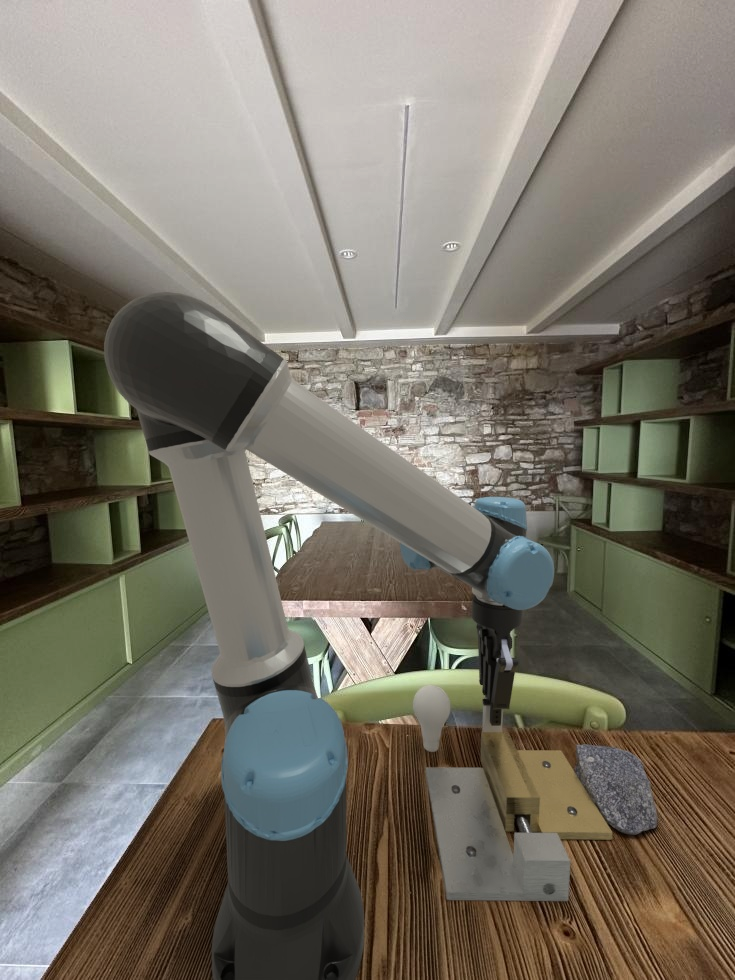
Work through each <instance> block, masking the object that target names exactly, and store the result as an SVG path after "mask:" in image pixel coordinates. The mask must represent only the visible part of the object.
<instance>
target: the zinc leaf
mask: <svg viewBox="0 0 735 980" xmlns="http://www.w3.org/2000/svg"><path fill="white" fill-rule="evenodd" d="M425 778H426V779H425V780H426V783H427V784H426V785H427V788H428V796H429V801H430V806H431V808H430V809H431V814H432V820H433V825H434V831H435V837H436V843H437V849H438V855H439V862H440V867H441V872H442V880H443V885H444V890H445V897H446V901H492V902H493V901H495V902H496V901H500V902H503V901H504V902H505V901H506V902H508V901H509V902H511V901H513V902H514V901H515V902H517V901H519V902H520V901H521V902H569V896H570V894H569V893H570V891H569V890H570V875H571V873H570V872H571V859H570V856H569V855H568V853H567V851H566V848H565V846H564V844H563V842H562V839H560V838H559V836H558V834H557V833H539V832H532V830H531V828H530V825H529V823H528V820H527V818H526V816H525V814H515V815H514V820H515V821H516V824H517V827H518V830H519V832H513V833H514V834H513V836H514V837H513V851H512V848H511V845H510V842H509V839H508V836H507V833H506V832H505V829H504V826H503V823H502V820H501V818H500V815H499V812H498V809H497V806H496V803H495V800H494V798H493V795H492V792H491V789H490V786H489V783H488V780H487V778H486V775H485V772H484V769H483V767H445V766H444V767H440V766H439V767H437V766H436V767H433V766H432V767H431V766H429V767H428V766H426V767H425Z"/></svg>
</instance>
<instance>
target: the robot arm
mask: <svg viewBox="0 0 735 980" xmlns="http://www.w3.org/2000/svg"><path fill="white" fill-rule="evenodd" d="M104 337H105V338H104V343H103V347H104V348H103V350H104V354H103V355H104V362H105V366H106V370H107V372H108V375H109V377H110V380H111V381H112V384H113V386H114V388H115V389H116V390H117V392H118V393H119V394H120V395H121V396H122V398H123V399H125V401H126V402H127V403H128V404H129V405H130V406H132V407H133V408H134V409H136V412H137V413H136V414H137V415H138V419H139V423H140V426H141V430H142V433H143V437H144V441H145V444H146V447H147V450H148V455H150V456H151V457H153V458H155V459H157V460H158V461H160V462H161V463H163V464H164V465H165V466H167V467H168V471H169V473H170V476H171V477H170V478H171V480H172V483H173V487H174V492H175V495H176V498H177V502H178V505H179V510H180V513H181V516H182V521H183V524H184V527H185V531H186V535H187V538H188V542H189V546H190V549H191V553H192V557H193V559H194V560H193V561H194V563H195V568H196V571H197V574H198V579H199V582H200V585H201V589H202V592H203V596H204V600H205V604H206V607H207V611H208V615H209V618H210V622H211V625H212V628H213V631H214V632H213V633H214V636H215V640H216V644H217V647H218V651H219V654H218V656H217V657H216V659H215V661H214V662H213V664H212V667H211V676H212V677H211V678H212V680H213V684H214V688H215V691H216V696H217V698H218V702H219V706H220V709H221V714H222V716H223V717H222V718H223V721H224V733H225V734H224V739H225V741H224V748H223V755H221V756H222V757H221V764H220V766H221V767H220V769H221V770H220V775H221V777H220V778H221V786H222V791H223V795H224V797H223V798H224V813H225V814H224V817H225V819H224V820H225V837H226V838H225V839H226V840H225V841H226V842H225V843H226V860H227V861H226V862H227V867H226V868H227V885H226V888H225V891H224V894H223V897H222V900H221V904H220V906H219V910H218V913H217V917H216V920H215V925H214V928H213V933H212V934H213V935H212V940H211V941H212V943H211V970H212V971H211V972H212V973H211V974H212V980H356V978H357V975H358V973H359V969H360V966H361V962H362V958H363V952H364V947H365V946H364V945H365V911H364V902H363V898H362V894H361V889H360V886H359V884H358V882H357V881H358V880H357V879H356V876H355V874H354V871H353V868H352V865H351V863H350V861H349V859H348V856H347V776H348V775H347V772H348V767H349V759H348V748H347V742H346V738H345V736H346V735H345V732H344V731H345V730H344V726H343V724H342V721H341V719H340V717H339V715H338V713H337V712H336V710H335V708H333V706H331V704H330V703H329V702H328V701H326V700H325V699H323V698H321V697H319V696H318V694H317V690H316V688H315V683H314V681H313V680H314V679H313V676H312V672H311V667H310V663H309V659H308V656H307V651H306V648H305V647H306V646H305V643H304V639H303V637H302V635H301V634H299V633H298V632H296V631H294V630H292V629H289V626H288V623H287V619H286V615H285V614H286V613H285V609H284V605H283V602H282V598H281V594H280V590H279V586H278V582H277V578H276V573H275V570H274V566H273V565H274V564H273V561H272V557H271V553H270V548H269V544H268V539H267V535H266V532H265V527H264V525H263V520H262V519H263V518H262V515H261V511H260V507H259V506H260V505H259V502H258V500H257V496H256V495H257V494H256V491H255V486H254V483H253V482H254V481H253V477H252V474H251V470H250V466H249V461H248V457H247V453H246V451H248V452H250V453H252V454H253V455H254V456H256V457H257V458H260V459H261V460H263V461H264V462H266V463H268V464H269V465H271V466H273V467H274V468H276V469H278V470H279V471H281V472H283V473H284V474H286V475H287V476H289V477H291V478H293V479H294V480H296V481H298V482H299V483H300V484H303V485H304V486H306V487H308V488H309V489H311V490H313V491H314V492H315V493H316V494H319V495H321V496H323V498H326V499H327V500H329V501H331V502H332V503H333V504H335V505H337V506H338V507H340V508H341V509H344V510H346V511H348V513H350V514H352V515H353V516H355V517H357V518H358V519H361V520H362V521H364V522H365V523H367V524H368V525H370V526H372V527H373V528H375V529H377V530H378V531H380V532H382V533H383V534H385V535H387V536H389V537H390V538H392V539H394V540H395V541H396V542H399V548H400V549H399V550H400V553H401V557H402V559H403V562H404V563H405V565H406V566H407V567H408V568H410V569H411V570H426V571H429V570H431V569H439V570H441V571H442V572H444V573H446V574H447V575H450V576H451V577H453V578H454V579H456V580H458V581H460V582H463V583H465V584H466V585H468V586H469V587H471V592H472V594H473V596H472V598H471V618H472V620H473V621H474V622H475V623H476V632H477V646H478V674H479V675H478V678H479V679H478V682H479V684H480V686H482V687H481V688H482V689H481V692H482V695H483V696H484V697H483V698H482V700H481V701H482V704H483V705H482V727H483V728H482V727H481V728H482V731H481V732H503V719H504V718H503V717H504V716H503V715H504V710H510V705H511V699H512V694H513V693H512V691H513V687H514V682H515V680H514V679H515V674H516V671H517V669H518V667H519V660H518V658H517V657H512V656H511V649H512V648H513V637H512V636H511V632H512V631H513V630H515V629H517V628H519V627H520V626H521V625H522V622H523V611H524V610H529V609H532V608H534V607H536V606H537V605H539V604H540V603H541V602H543V600H544V599H545V598H546V596H547V594H548V593H549V592H550V589H551V588H552V586H553V582H554V577H555V566H554V559H553V558H552V556H551V554H550V552H549V551H548V549H547V548H546V547H544V546H543V545H541V544H540V543H538V542H535V541H533V540H531V539H529V538H528V537H527V531H528V525H527V521H528V520H527V505H526V504H525V503H524V501H523V500H521V499H518V498H513V497H506V496H484V497H479V498H477V499H476V500H475V502H474V506H472V505H471V504H469V503H468V502H466V500H465V499H464V500H463V498H461V496H458V495H456V494H455V493H454V492H452V491H451V490H450V489H448V488H447V487H445V486H444V485H443V484H441V483H440V482H439V481H437V480H436V479H434V478H433V477H431V476H430V475H428V474H427V473H426V472H424V471H423V470H421V469H420V468H419V467H417V466H416V465H414V464H413V463H412V462H410V461H408V460H407V459H406V458H404V457H403V456H402V455H401V454H399V453H397V452H396V451H394V450H393V449H392V448H391V447H389V446H387V445H386V444H385V443H383V442H382V441H380V440H379V439H378V438H377V437H375V436H373V435H372V434H370V432H368V431H366V430H365V429H364V428H362V427H361V426H360V425H358V424H356V423H355V422H354V421H353V420H351V419H349V418H348V417H347V416H345V415H344V414H342V413H341V412H340V411H338V410H336V408H335V407H333V406H331V405H330V404H329V403H327V402H326V401H324V400H323V399H321V398H320V397H319V396H317V395H316V394H314V393H312V392H311V391H310V390H309V389H307V388H306V387H304V386H303V385H301V384H300V383H298V382H297V381H296V380H295V379H293V378H292V376H291V373H290V368H289V365H288V361H287V360H286V359H285V358H284V357H282V356H281V355H280V354H278V353H277V352H275V351H274V350H272V349H271V348H269V346H268V345H266V344H264V343H263V342H262V341H260V340H259V339H257V338H256V337H255V336H254V335H253V334H251V333H250V332H248V331H247V329H245V328H243V327H242V326H240V325H239V324H238V323H236V321H234V320H232V319H231V318H230V317H229V316H226V315H225V314H224V313H222V312H221V311H219V310H218V309H217V308H215V307H214V306H212V305H210V304H208V303H206V302H205V301H203V300H201V299H198V298H196V297H193V296H190V295H187V294H183V293H179V292H169V291H162V292H151V293H149V294H145V295H142V296H140V297H136V298H133V299H132V300H130V301H129V302H128V303H127V304H126V305H124V306H123V307H121V308H120V309H119V310H118V311H117V313H116V314H114V317H113V318H112V319H111V322H110V324H109V326H108V327H107V330H106V334H105V336H104Z"/></svg>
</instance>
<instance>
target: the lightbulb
mask: <svg viewBox="0 0 735 980" xmlns="http://www.w3.org/2000/svg"><path fill="white" fill-rule="evenodd" d="M412 701H413V702H412V709H413V713H414V715H415V716H416V719H417V721H418V722H419V725H420V728H421V729H420V730H421V736H422V744H423V748H424V750H426V751H427V752H430V753H434V752H437V751H438V750H439V747H440V746H439V745H440V739H441V737H442V729H443V727H444V725H445V723H447V720H448V719H449V717H450V715H451V701H450V697H449V695H448V694H447V693H446V691H444V689H443V688H441V687H439V686H438V685H433V684H427V685H424V686H421V687H420V688H419V689H418V690H417V691H416V693H415V695H414V697H413V700H412Z"/></svg>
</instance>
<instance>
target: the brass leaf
mask: <svg viewBox="0 0 735 980" xmlns="http://www.w3.org/2000/svg"><path fill="white" fill-rule="evenodd" d="M480 734H481V736H480V762H481V766H482V768H483V770H484V772H485V775H486V778H487V781H488V784H489V787H490V790H491V793H492V795H493V798H494V801H495V804H496V807H497V810H498V813H499V815H500V818H501V821H502V824H503V827H504V830H505V833H506V832H508V833H509V832H513V833H515V817H514V815H515V814H525V816H526V818H527V820H528V823H529V825H530V828H531V830H532V832H533V833H557V834H558V836H559V838H560V840H591V841H592V840H598V841H599V840H603V841H604V840H606V841H609V840H613V831H612V830H611V827H610V826H609V824H608V823H607V822H606V821H605V820H604V818H603V817H602V815H601V813H600V811H599V808H597V807H596V805H595V804H594V802H593V801H592V799H591V797H590V796H589V794H588V793H587V791H586V789H585V788H584V786H583V785H582V783H581V781H580V780H579V778H578V777H577V775H576V773H575V769H573V767H572V766H571V764H570V762H569V761H568V759H567V757H566V756H565V754H564V753H563V751H562V750H560V749H559V750H557V749H556V750H552V749H551V750H550V749H549V750H548V749H547V750H541V749H540V750H536V749H535V750H532V749H531V750H529V749H527V750H525V749H519V750H518V749H517V748H516V745H515V743H514V740H513V739H512V737H511V735H510V733H509V732H508V731H502V732H482V731H481V733H480Z"/></svg>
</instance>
